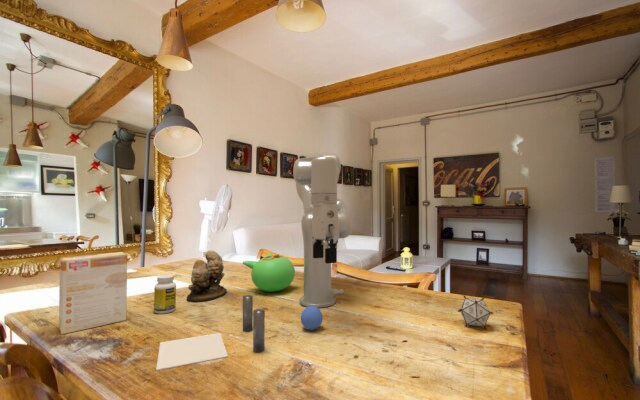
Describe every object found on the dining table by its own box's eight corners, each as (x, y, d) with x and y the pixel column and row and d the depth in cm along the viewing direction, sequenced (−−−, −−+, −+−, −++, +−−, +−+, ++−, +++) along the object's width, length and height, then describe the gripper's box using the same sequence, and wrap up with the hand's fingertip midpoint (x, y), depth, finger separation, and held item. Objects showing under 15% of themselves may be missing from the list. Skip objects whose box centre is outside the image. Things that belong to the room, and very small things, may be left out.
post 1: (251, 327, 85) (251, 294, 86) (253, 330, 83) (253, 296, 83) (241, 328, 84) (242, 295, 84) (243, 332, 82) (243, 298, 82)
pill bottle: (166, 315, 95) (167, 278, 96) (149, 313, 97) (149, 278, 97) (179, 308, 101) (180, 274, 102) (163, 307, 103) (163, 273, 103)
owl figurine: (208, 288, 127) (209, 247, 127) (234, 291, 124) (235, 248, 124) (178, 301, 109) (179, 252, 110) (207, 304, 106) (208, 254, 107)
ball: (317, 323, 88) (317, 302, 88) (326, 331, 83) (326, 308, 83) (297, 326, 86) (297, 304, 86) (305, 334, 80) (305, 311, 80)
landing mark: (220, 333, 81) (220, 332, 81) (227, 356, 68) (227, 355, 68) (160, 343, 75) (160, 342, 75) (156, 370, 63) (156, 369, 63)
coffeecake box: (121, 314, 96) (122, 251, 96) (127, 320, 91) (128, 253, 91) (57, 327, 85) (59, 256, 86) (60, 335, 80) (62, 259, 81)
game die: (478, 338, 87) (497, 308, 88) (483, 338, 80) (503, 305, 81) (449, 317, 91) (467, 289, 93) (450, 315, 84) (470, 285, 85)
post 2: (263, 346, 73) (263, 308, 74) (265, 351, 71) (265, 311, 71) (252, 348, 72) (252, 309, 73) (254, 353, 70) (254, 313, 70)
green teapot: (273, 299, 112) (273, 258, 112) (240, 292, 121) (240, 254, 121) (302, 288, 127) (302, 252, 127) (271, 283, 136) (271, 249, 136)
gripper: (349, 199, 82) (349, 264, 82) (324, 201, 98) (325, 255, 98) (323, 199, 80) (323, 266, 79) (302, 201, 96) (302, 257, 95)
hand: (324, 260), depth 88 cm, fingers open, 9 cm apart
